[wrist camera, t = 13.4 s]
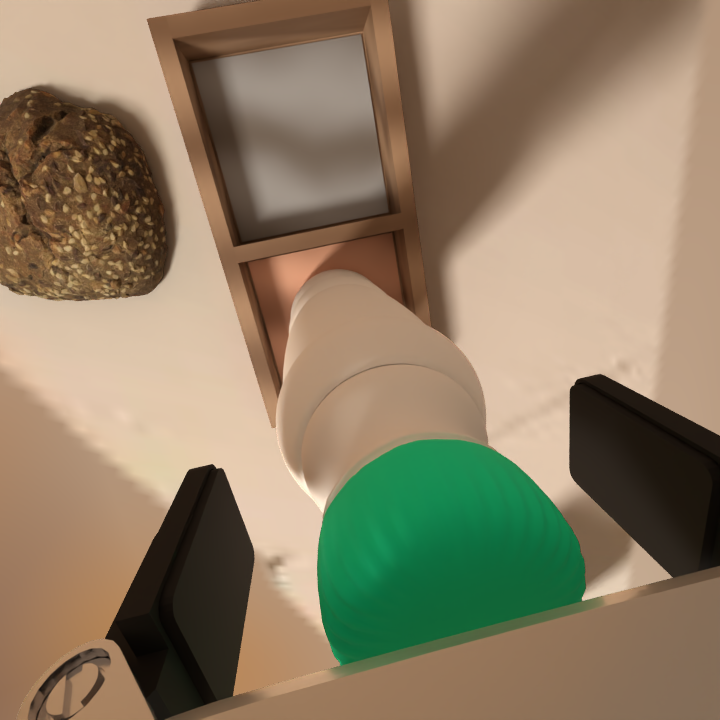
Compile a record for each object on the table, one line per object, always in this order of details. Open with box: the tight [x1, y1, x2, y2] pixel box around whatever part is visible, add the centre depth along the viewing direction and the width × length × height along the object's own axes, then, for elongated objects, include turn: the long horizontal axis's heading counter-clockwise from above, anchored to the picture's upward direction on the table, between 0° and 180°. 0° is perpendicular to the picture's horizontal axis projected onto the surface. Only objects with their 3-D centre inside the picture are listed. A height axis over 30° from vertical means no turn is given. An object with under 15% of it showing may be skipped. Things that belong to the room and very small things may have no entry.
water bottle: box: [276, 269, 586, 666], centre depth 18 cm, size 7×7×25 cm
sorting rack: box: [147, 0, 431, 428], centre depth 27 cm, size 25×13×4 cm, turn 11°
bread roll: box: [0, 88, 168, 301], centre depth 24 cm, size 13×12×5 cm
